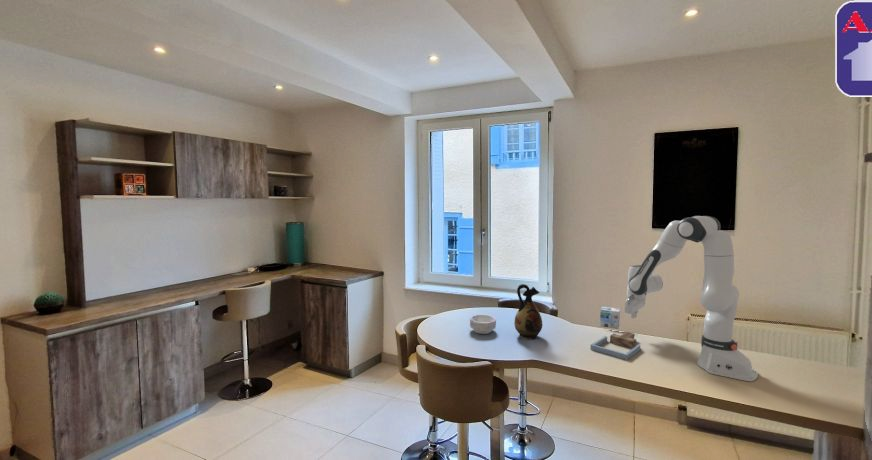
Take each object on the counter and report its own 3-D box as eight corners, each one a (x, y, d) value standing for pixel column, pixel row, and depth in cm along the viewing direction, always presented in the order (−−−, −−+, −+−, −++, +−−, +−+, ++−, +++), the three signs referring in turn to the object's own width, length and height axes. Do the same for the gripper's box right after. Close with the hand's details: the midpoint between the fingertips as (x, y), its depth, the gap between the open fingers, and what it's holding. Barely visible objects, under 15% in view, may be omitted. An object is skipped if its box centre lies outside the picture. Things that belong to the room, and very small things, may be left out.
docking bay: (640, 350, 207) (640, 345, 207) (626, 360, 195) (627, 355, 195) (604, 340, 220) (605, 336, 220) (590, 349, 209) (590, 344, 208)
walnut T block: (641, 342, 217) (642, 335, 217) (633, 348, 209) (633, 341, 208) (619, 336, 226) (619, 329, 225) (609, 342, 217) (610, 335, 217)
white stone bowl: (497, 335, 229) (497, 322, 228) (470, 336, 230) (470, 322, 229) (494, 326, 244) (494, 314, 244) (469, 326, 245) (469, 314, 244)
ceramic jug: (539, 331, 235) (540, 281, 231) (544, 342, 219) (545, 288, 216) (510, 331, 236) (510, 281, 233) (512, 341, 221) (513, 288, 218)
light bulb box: (599, 326, 242) (600, 309, 241) (600, 323, 248) (601, 306, 247) (618, 329, 237) (619, 311, 236) (619, 325, 243) (620, 308, 242)
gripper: (634, 298, 213) (632, 323, 215) (648, 291, 227) (646, 314, 229) (622, 296, 218) (620, 320, 219) (636, 289, 232) (635, 312, 233)
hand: (633, 317), depth 224 cm, fingers closed
